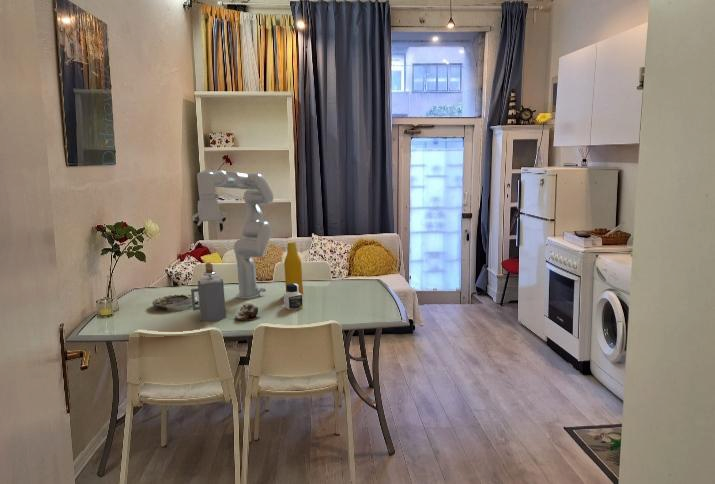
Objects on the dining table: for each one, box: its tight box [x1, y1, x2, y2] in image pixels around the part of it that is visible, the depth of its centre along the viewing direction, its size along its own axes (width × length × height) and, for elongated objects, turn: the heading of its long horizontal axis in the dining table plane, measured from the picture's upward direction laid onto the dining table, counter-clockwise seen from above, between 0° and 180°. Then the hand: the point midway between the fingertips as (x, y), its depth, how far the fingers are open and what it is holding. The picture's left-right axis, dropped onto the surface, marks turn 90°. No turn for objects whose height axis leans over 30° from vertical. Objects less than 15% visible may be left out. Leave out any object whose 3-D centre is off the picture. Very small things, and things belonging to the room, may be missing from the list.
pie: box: [152, 294, 200, 315], centre depth 286 cm, size 28×27×5 cm
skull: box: [234, 301, 261, 322], centre depth 261 cm, size 12×10×10 cm
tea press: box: [190, 275, 227, 323], centre depth 261 cm, size 15×12×19 cm
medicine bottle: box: [283, 283, 304, 311], centre depth 274 cm, size 7×7×12 cm
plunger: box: [203, 262, 217, 284], centre depth 260 cm, size 8×8×23 cm
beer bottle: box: [283, 241, 304, 295], centre depth 297 cm, size 9×9×29 cm
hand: (211, 232), depth 269 cm, fingers open, 9 cm apart
